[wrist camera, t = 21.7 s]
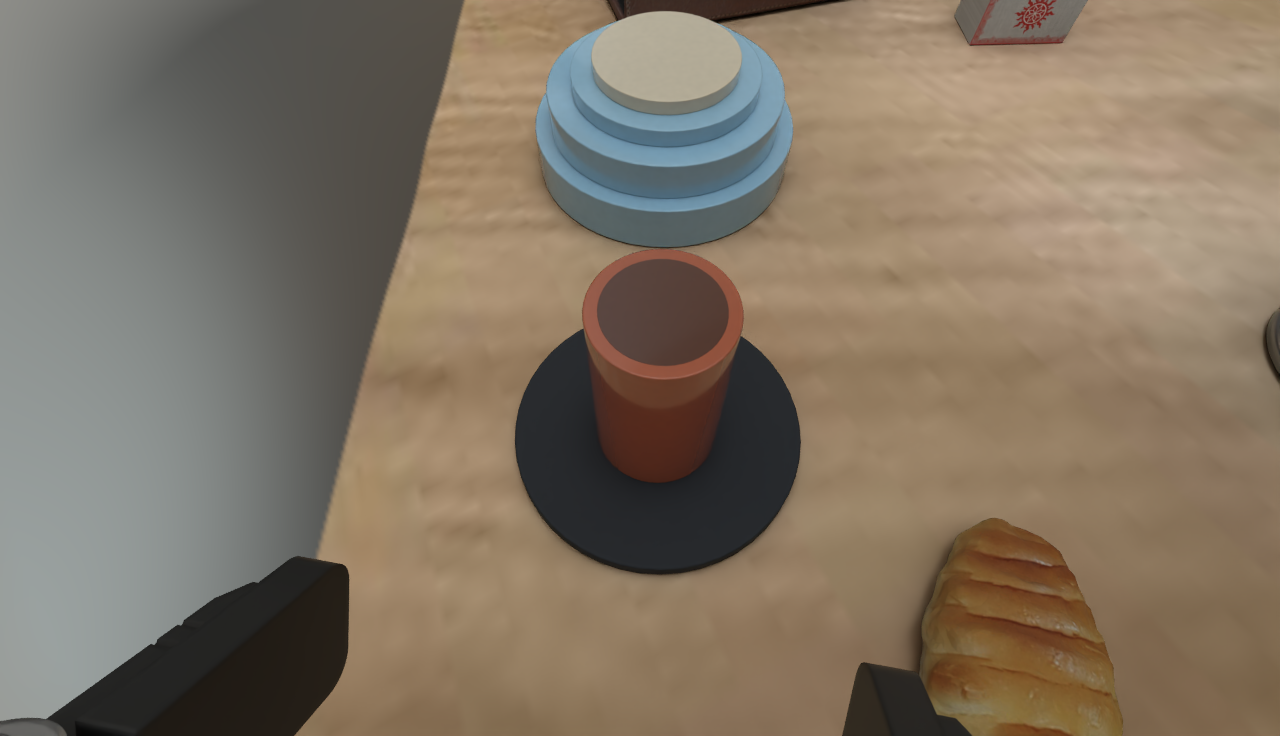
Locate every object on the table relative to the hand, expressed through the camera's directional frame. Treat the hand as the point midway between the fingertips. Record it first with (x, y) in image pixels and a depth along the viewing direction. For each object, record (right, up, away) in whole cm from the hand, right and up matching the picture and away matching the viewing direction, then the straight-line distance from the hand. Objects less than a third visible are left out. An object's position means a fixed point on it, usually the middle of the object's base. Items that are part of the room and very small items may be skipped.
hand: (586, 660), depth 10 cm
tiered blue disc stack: (+2, +18, +30) cm, 35 cm away
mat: (+2, +2, +20) cm, 20 cm away
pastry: (+14, -7, +15) cm, 22 cm away
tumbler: (+2, +2, +19) cm, 19 cm away
